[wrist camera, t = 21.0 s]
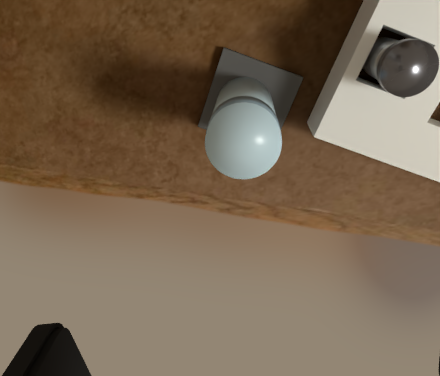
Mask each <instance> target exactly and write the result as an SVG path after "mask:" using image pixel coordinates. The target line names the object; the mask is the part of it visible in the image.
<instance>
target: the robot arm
mask: <svg viewBox="0 0 440 376" xmlns="http://www.w3.org/2000/svg"><path fill="white" fill-rule="evenodd" d="M439 375H440V358H439ZM2 376H91V374H90V372H89V370H88V368H87V366H86V364H85V362H84V360H83V358H82V356H81V354H80V351H79V349H78V348H77V345H76V343H75V341H74V339H73V337H72V335H71V333H70V331H69V330H68V329H67V328H64V327H63V326H62V324H60V323H52V324H42V325H37V326H35V327H34V328H33V330H32V331H31V332H30V334H29V335H28V337H27V339H26V340H25V342H24V343H23V345H22V346H21V348H20V349H19V351H18V352H17V354H16V355H15V357H14V358H13V360H12V361H11V363H10V364H9V366H8V367H7V369H6V371H5V372H4V373H3V375H2Z"/></svg>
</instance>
